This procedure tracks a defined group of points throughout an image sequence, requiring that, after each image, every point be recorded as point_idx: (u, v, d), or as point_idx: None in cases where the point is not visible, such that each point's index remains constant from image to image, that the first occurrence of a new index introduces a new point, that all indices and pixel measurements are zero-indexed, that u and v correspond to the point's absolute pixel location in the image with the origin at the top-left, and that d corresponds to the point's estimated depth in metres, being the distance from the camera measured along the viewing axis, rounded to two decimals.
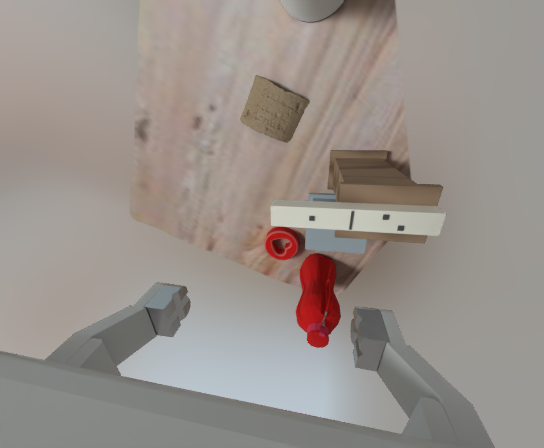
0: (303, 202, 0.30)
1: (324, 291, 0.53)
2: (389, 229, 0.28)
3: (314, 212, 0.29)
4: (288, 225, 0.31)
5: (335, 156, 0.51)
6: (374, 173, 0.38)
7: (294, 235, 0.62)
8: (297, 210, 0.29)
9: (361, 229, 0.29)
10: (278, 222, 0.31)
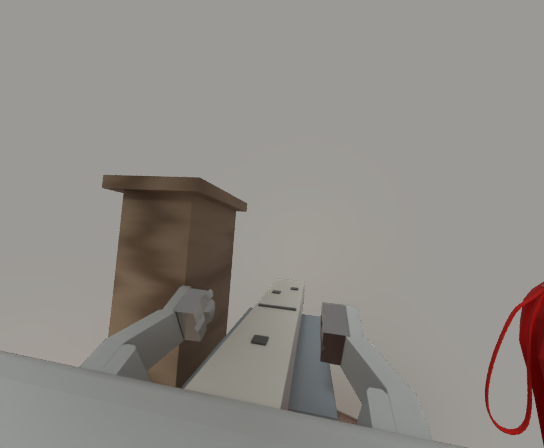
0: None
1: None
2: (296, 292, 0.20)
3: (243, 335, 0.11)
4: (276, 391, 0.07)
5: None
6: None
7: None
8: (222, 358, 0.09)
9: (296, 304, 0.16)
10: None
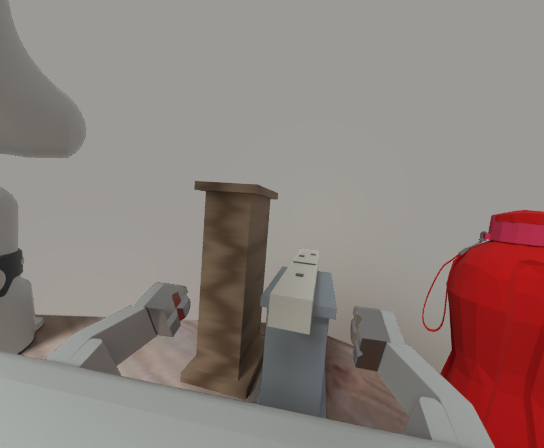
0: None
1: None
2: (314, 256, 0.30)
3: (290, 273, 0.21)
4: (311, 288, 0.18)
5: (193, 369, 0.30)
6: None
7: None
8: (284, 279, 0.19)
9: (315, 262, 0.27)
10: (305, 294, 0.16)
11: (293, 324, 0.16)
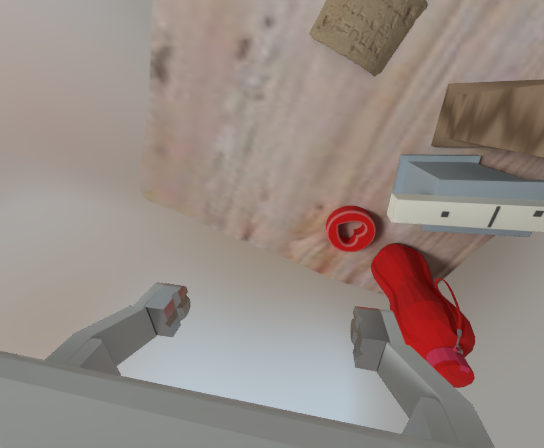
0: (430, 196, 0.27)
1: (434, 296, 0.35)
2: (538, 227, 0.25)
3: (449, 207, 0.26)
4: (413, 222, 0.27)
5: (457, 92, 0.34)
6: None
7: (371, 217, 0.44)
8: (429, 204, 0.26)
9: (502, 227, 0.26)
10: (402, 218, 0.27)
11: (389, 208, 0.29)
